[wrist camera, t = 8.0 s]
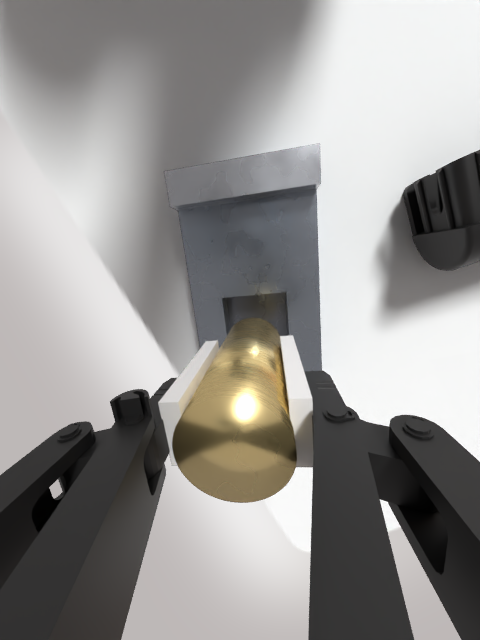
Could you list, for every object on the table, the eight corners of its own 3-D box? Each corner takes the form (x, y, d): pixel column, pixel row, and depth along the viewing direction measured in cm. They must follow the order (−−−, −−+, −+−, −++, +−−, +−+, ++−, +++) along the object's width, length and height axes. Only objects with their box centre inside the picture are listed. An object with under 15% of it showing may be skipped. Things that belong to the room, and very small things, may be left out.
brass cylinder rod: (223, 319, 17) (161, 399, 7) (279, 315, 16) (293, 395, 7) (230, 370, 18) (183, 500, 8) (283, 368, 17) (300, 504, 8)
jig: (186, 187, 22) (163, 166, 17) (307, 166, 20) (319, 138, 15) (216, 379, 27) (204, 406, 22) (315, 375, 25) (326, 403, 20)
